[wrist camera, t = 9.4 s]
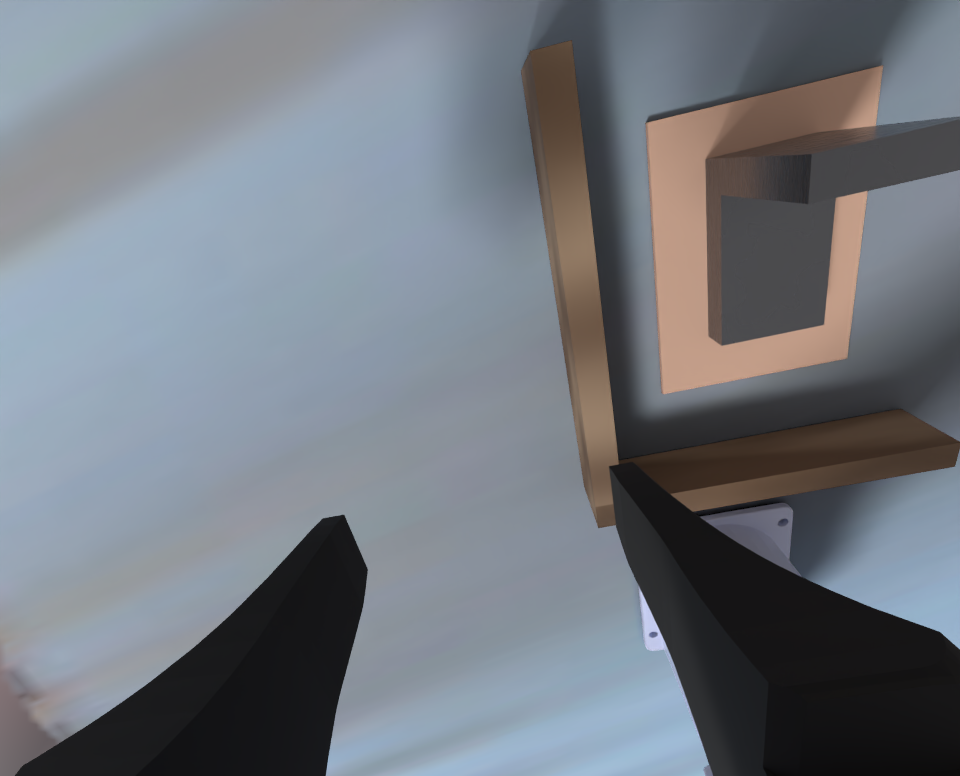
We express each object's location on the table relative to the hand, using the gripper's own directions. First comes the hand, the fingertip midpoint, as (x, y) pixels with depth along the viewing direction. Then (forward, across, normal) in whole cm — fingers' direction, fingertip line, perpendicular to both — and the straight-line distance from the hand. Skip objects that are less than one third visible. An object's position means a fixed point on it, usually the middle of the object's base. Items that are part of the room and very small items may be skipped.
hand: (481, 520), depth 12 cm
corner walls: (+9, -11, -2) cm, 15 cm away
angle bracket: (+9, -12, -3) cm, 16 cm away
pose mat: (+9, -12, -3) cm, 16 cm away
